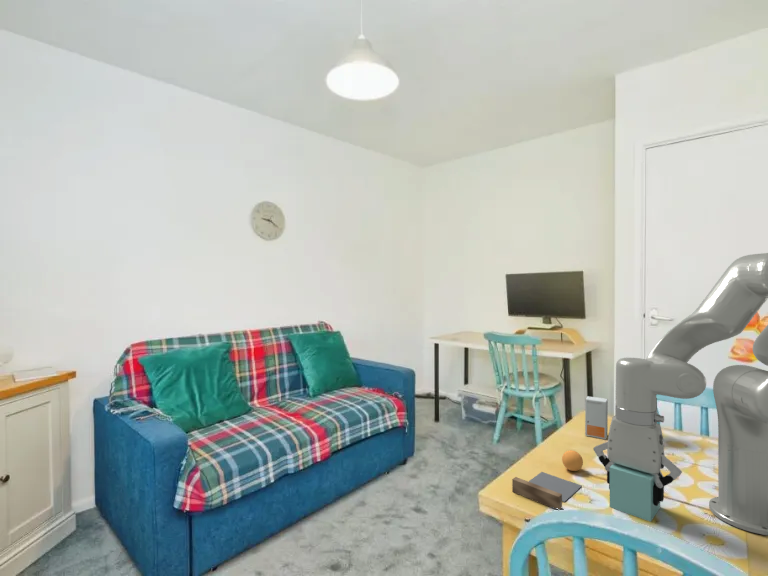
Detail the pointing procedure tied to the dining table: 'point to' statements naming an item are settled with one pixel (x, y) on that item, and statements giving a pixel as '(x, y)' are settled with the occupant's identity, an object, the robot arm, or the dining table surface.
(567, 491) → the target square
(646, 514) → the teal tissue box
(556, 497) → the stopper rail
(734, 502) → the robot arm
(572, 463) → the ball
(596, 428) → the skincare box
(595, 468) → the dining table surface
